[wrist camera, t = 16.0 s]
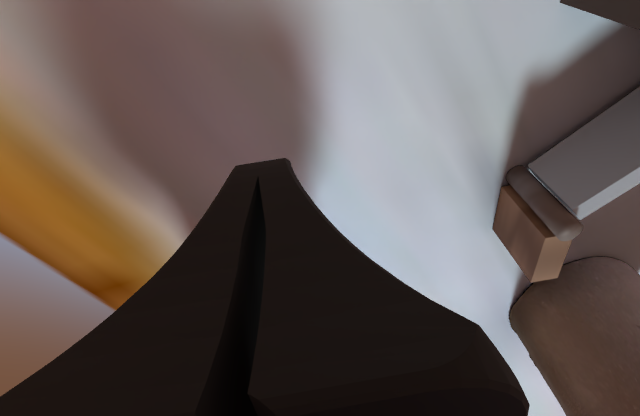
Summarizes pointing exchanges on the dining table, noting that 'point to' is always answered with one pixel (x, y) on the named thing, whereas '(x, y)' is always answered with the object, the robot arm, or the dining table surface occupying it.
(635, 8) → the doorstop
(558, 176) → the door
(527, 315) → the pillar candle
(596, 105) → the dining table surface
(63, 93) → the dining table surface
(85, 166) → the dining table surface
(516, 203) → the brown wooden bar
